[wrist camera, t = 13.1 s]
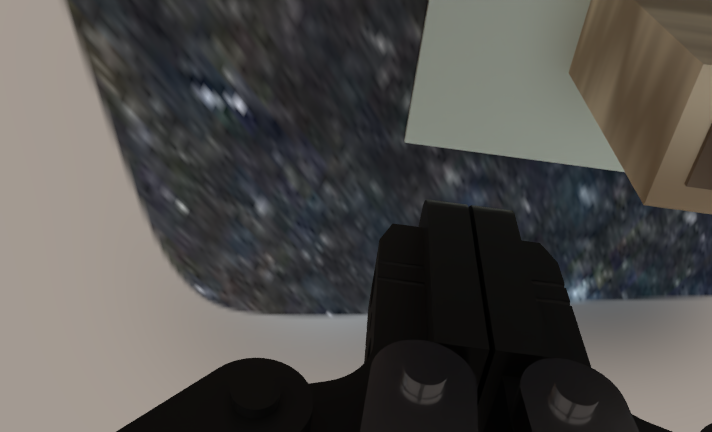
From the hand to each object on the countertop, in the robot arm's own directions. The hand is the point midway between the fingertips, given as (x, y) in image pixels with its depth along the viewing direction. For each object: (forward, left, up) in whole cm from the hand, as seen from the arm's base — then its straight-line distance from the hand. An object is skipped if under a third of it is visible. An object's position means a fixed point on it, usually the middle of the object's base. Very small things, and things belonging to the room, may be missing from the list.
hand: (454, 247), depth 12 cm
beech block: (0, +8, -16) cm, 18 cm away
